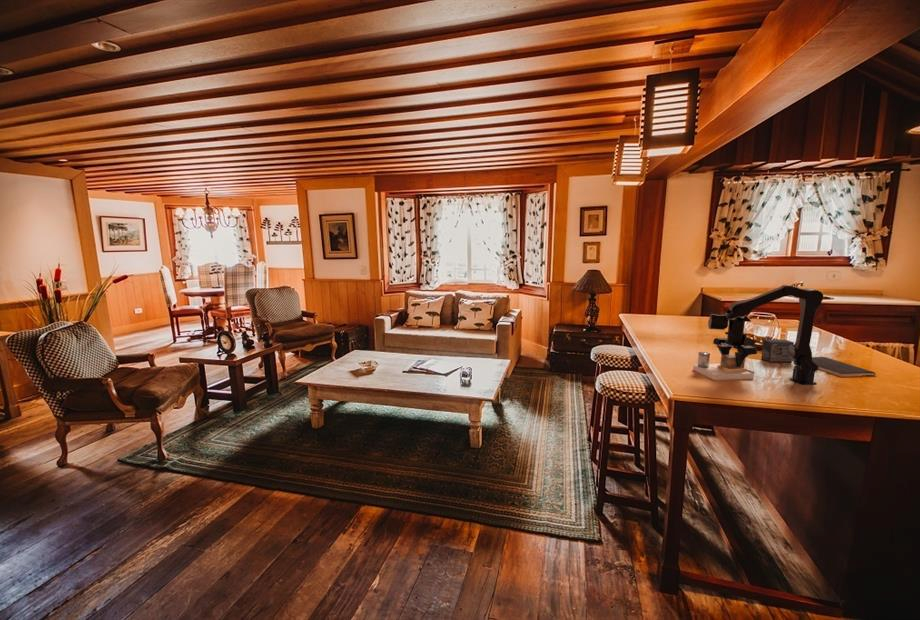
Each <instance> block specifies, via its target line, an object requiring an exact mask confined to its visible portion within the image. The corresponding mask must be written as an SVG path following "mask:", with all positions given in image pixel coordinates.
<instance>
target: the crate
mask: <svg viewBox="0 0 920 620" xmlns="http://www.w3.org/2000/svg"><path fill="white" fill-rule="evenodd" d="M745 362H746V359H745V360H744V361H743V363H742V365H741V366H740V367H737V364H736V357H735V353H734V354H733V353H732V354H730V353H729V355H721V356H720V363H719V364H720V365H718V367H717V368H719V369H722V370H724V371H726V372H739V371H747V369H748V368H746V367H745Z"/></svg>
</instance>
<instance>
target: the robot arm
mask: <svg viewBox="0 0 920 620" xmlns="http://www.w3.org/2000/svg"><path fill="white" fill-rule="evenodd" d="M786 296H790V297H795V298H798V304H799V306H800V307H799V308H800V315H799V321H798V327H797V332H796V333H797V334H796V338H795V342H794V345H793V346H790V345H789V351H788V353H787V354H788V355H789V358H790V359H791V360H792V363H793V365H794V366H793V367H794V368H793V370H792V377H789V380H790V381H793V382H795V383H797V384H801V385H817V382H816V381H814V380H815V373H816V372H817V370H819V369H818V368H819V367H818V366H817V365H816V364H815V363H814V362H813V361H812V357H813V353H812V349H811V339H812V333H813V328H814V322H815V316H816V312H817V311H818V309H819V308H820V306H821V304H822V303H823V300H824V293H823V292H821V291H820V290H817V289H813V288H804V289H803V288H798V287H795V286H792V285H789V284H782V285H781V286H779V287H777V288H774V289H771V290H769V291H767V292H764V293H761V294H759V295H756V296H754V297H751V298H746V299H741V300H737V301H733V302H732V303H730V305H729V306H728V309H727V310H726V311H724V313H722V314H715V313H710V315H709V316H710V317H708V318H709V319H708V320H707V321H708V322H707V323H708V329H709V330H720V331H724V330H725V329H727V331H725V333H724V335H727V337H715V338H714V339H713V340H712V341H713V342H712V344H713V345H715V346H716V347H717V348H718V351H719V354H721V355H729V354H730V350H732V348H733V349H736V351H735V352H734V354H735V357H736V364H737V367H740V366H741V365H742V363H743V361H744V360H745V361H746V359H747V357H749V356H751V355H757V354H758V349H757V348H756V347H754V346H755V345H756V342H757V340H756V339H753V338H751V337H748V336H747V333H745V326H746V325H745V323H746V322H747V323H748V322H752V321H751V319H750V318H749V317H748V314H749V313H752V312H753V311H754V310H755V309H757V308H758V307H760V306H763V305H766V304H768V303H769V304H770V303H771V302H774V301H777V300H779V299H781V298H784V297H786Z"/></svg>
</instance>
